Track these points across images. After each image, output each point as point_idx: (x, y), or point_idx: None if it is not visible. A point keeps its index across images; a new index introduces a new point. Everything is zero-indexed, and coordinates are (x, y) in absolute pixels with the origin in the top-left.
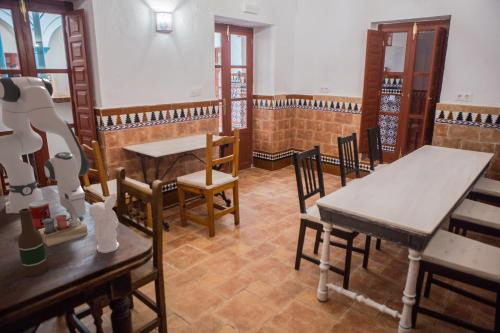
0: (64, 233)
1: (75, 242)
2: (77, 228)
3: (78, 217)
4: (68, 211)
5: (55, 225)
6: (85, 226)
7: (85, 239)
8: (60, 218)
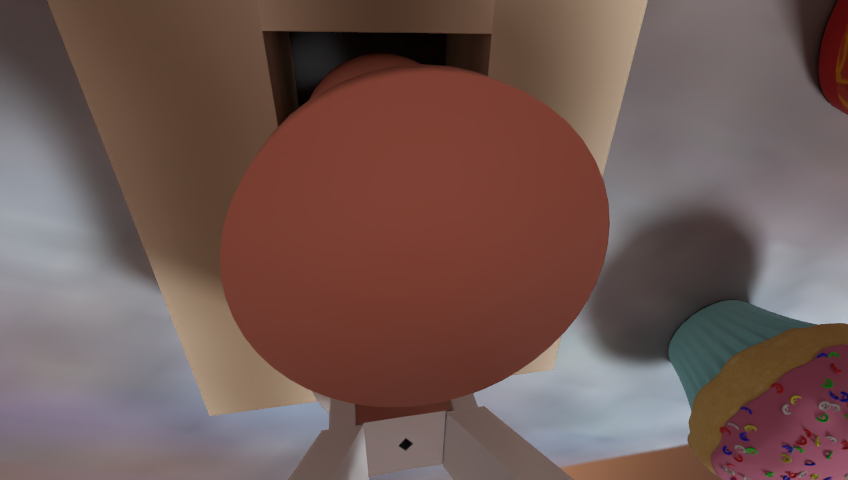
0: (97, 87)
1: (41, 160)
2: (176, 316)
3: (676, 344)
4: (811, 343)
5: (594, 75)
6: (206, 400)
7: (86, 276)
8: (247, 230)
